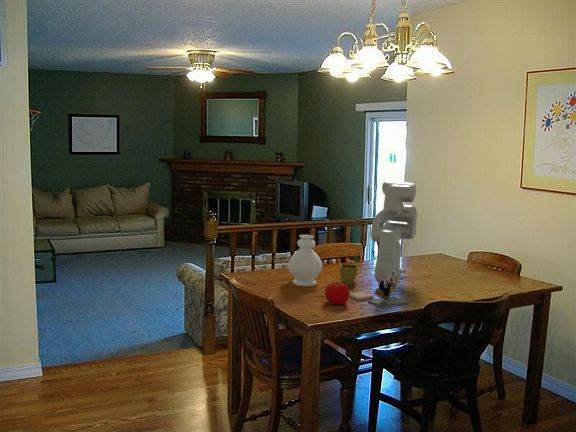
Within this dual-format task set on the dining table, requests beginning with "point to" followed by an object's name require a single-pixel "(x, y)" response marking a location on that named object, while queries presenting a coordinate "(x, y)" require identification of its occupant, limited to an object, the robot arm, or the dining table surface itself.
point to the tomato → (337, 293)
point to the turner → (381, 293)
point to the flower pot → (348, 273)
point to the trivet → (387, 302)
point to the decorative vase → (305, 262)
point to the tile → (360, 296)
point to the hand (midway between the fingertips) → (383, 294)
